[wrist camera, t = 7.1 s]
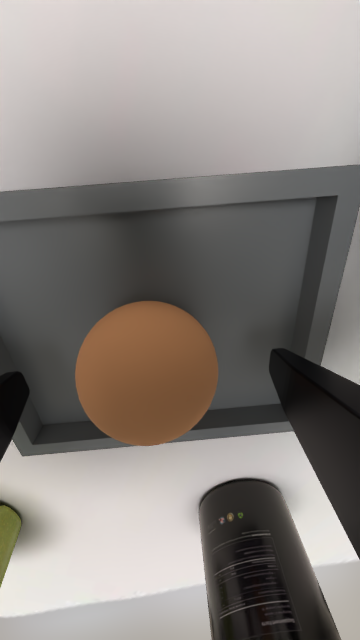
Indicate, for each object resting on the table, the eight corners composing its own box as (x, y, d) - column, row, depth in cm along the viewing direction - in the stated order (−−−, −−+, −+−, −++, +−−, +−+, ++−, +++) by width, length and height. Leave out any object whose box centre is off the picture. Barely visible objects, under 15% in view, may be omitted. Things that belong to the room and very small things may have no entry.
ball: (205, 277, 10) (238, 340, 5) (207, 372, 12) (232, 472, 8) (84, 287, 10) (17, 360, 5) (109, 381, 12) (76, 488, 8)
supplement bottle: (293, 507, 20) (443, 870, 9) (219, 531, 21) (274, 877, 10) (265, 464, 17) (437, 920, 6) (182, 495, 18) (204, 921, 7)
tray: (333, 170, 9) (370, 163, 7) (288, 404, 14) (304, 430, 13) (-73, 201, 9) (-127, 201, 7) (38, 427, 14) (22, 456, 12)
